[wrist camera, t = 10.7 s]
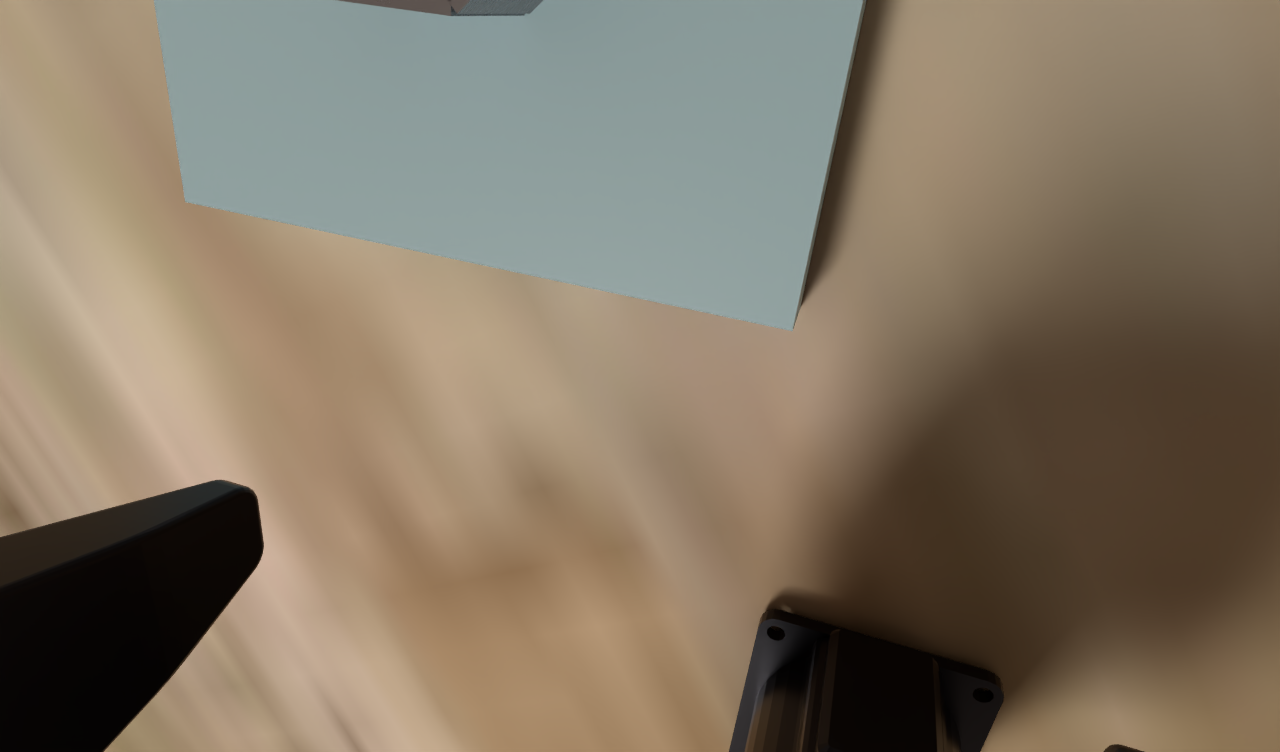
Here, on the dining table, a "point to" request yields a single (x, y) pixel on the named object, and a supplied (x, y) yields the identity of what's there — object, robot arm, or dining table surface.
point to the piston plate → (530, 134)
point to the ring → (459, 6)
